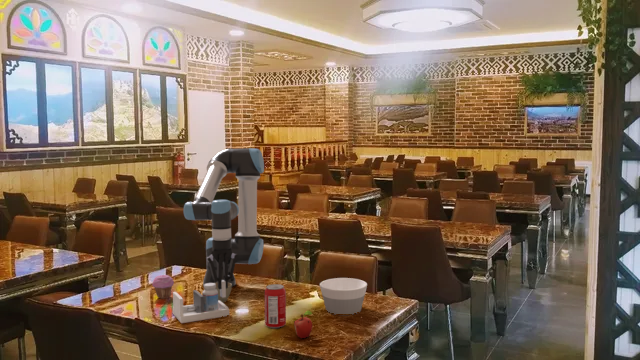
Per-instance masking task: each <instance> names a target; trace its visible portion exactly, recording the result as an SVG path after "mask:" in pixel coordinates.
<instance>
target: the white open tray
mask: <svg viewBox="0 0 640 360" xmlns="http://www.w3.org/2000/svg"><path fill="white" fill-rule="evenodd" d="M172 306H173V307H172V314H173V316H174V317H175V318H176V319H177V320H178V321H179V322H180V323H181V324H185V323H191V322H198V321H204V320H211V319H216V318H221V317H222V316H223V317H227V315H229V316H230V309H229V306H227V305H226V304H225V302H223V303H222V302H221V301H220V300H218V310H215V311H209V312H202V313H196V312H195V311H194V310H191V311H188V310H187V307H193V306H194V303H193V304H188V305H187V304H186V305H184V299H183V297H182V296H181V295H180V294H179V293H178V292H177V291H173V292H172Z"/></svg>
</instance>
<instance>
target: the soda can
mask: <svg viewBox="0 0 640 360" xmlns="http://www.w3.org/2000/svg"><path fill="white" fill-rule="evenodd" d="M286 291H287V290H286V289H285V286H284V285H283V284H268V285H267V286H266V287H265V289H264V293H263V294H264V298H263V299H264V325H265V327H268V328H269V327H270V328H269V329H281V328H283V327H284V326H286V324H287V300H286V299H287V293H286ZM280 327H281V328H280Z"/></svg>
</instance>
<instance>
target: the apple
mask: <svg viewBox="0 0 640 360" xmlns="http://www.w3.org/2000/svg"><path fill="white" fill-rule="evenodd" d="M312 314H313V312H312V311H311V310H306V311H305V312H304V313H302V314H300V317H299V318H298V319H296V320H295V321H293V323H294V324H293V325H294V330H295V334H296V336H297V337H298V338H299V339H302V338H304V339H307V338H309V337H310V335H311V333H312V330H313V322H312V320H311V319H310V318H309V317H307V316H311V315H312ZM306 337H307V338H306Z"/></svg>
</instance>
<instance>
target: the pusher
mask: <svg viewBox="0 0 640 360" xmlns="http://www.w3.org/2000/svg"><path fill="white" fill-rule="evenodd" d="M192 293H193V294H192V295H193V296H192V297H193V304H194V306H193V307H187V310H188V311H191V310H194V311H195V312H196V313H202V312H204V296H203V294H202V293H200V292H199V291H198V290H197V289H194V290H193V292H192Z"/></svg>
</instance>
